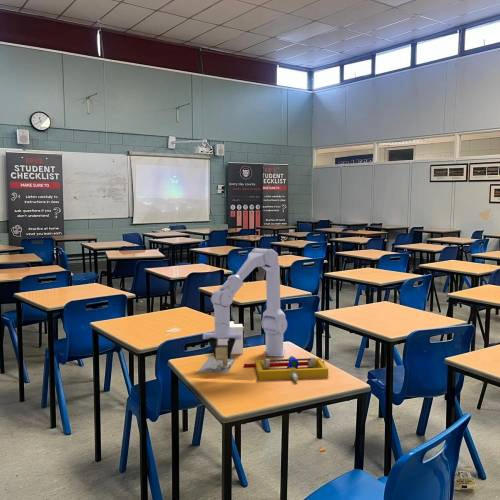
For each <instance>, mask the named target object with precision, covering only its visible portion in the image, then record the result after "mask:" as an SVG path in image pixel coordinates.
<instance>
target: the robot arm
mask: <svg viewBox="0 0 500 500" xmlns="http://www.w3.org/2000/svg"><path fill="white" fill-rule="evenodd" d="M258 267H259V268H260V267H261V268H262V269H263V270H264V271H265V278H266V279H265V283H266V285H265V287H266V290H265V291H266V309H265V310H264V311H263V313H262V319H261V327H262V329H263V330H264V333H265V353H266V356H265V357H276V358H278V357H282V358H283V357H284V356H285V353H286V349H285V348H284V334H285V332H286V331H287V328H288V321H287V319H286V314H285V313H284V312H285V311H283V310H282V309H281V282H280V281H281V274H280V273H281V272H280V271H281V270H280V267H281V266H280V263H279V253H278V252H277V251H276V250H274V249H273V248H269V249H268V248H258V247H254V248H253V249H252V250H251V251H250V252H249V253H248V255H247V259H246V260H245V261H244V263H243V264H242V265H241V267H240V268H239V269H238V270H237V272H236V274H231V275H229V276H228V277H227V280H226V281H225V282H224V283H223V284H222V285H221V286H220V287H219V289H216V290H214V291H213V293H212V294H211V297H210V302H211V303H212V305H213V306H212V307H213V310H214V313H213V315H214V316H213V317H214V319H213V320H214V332H203V333H202V339H203V340H206V339H207V340H208V344H209V345H210V347H211V350H212V352H213V355H214V356H213V357H215V359H216V347H217V346H216V345H217V344H218V339H229V340H228V341H227V344H228V359H230V358H231V357H232V354H231V352H232V348H233V346H234V343H235V341H236V339H238V340H241V339H242V334H239V333H230V319H231V316H230V315H231V314H230V313H231V312H230V311H231V310H230V309H231V307H230V306H231V304H233V301H234V297H235V295H236V294H237V292H238V291H239V290H240V289H241V288H242V286H243V285H244V284H243V281H244V280H245V279H246V278H247V276H249V275H250V273H252V271H254V269H256V268H258Z"/></svg>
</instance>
